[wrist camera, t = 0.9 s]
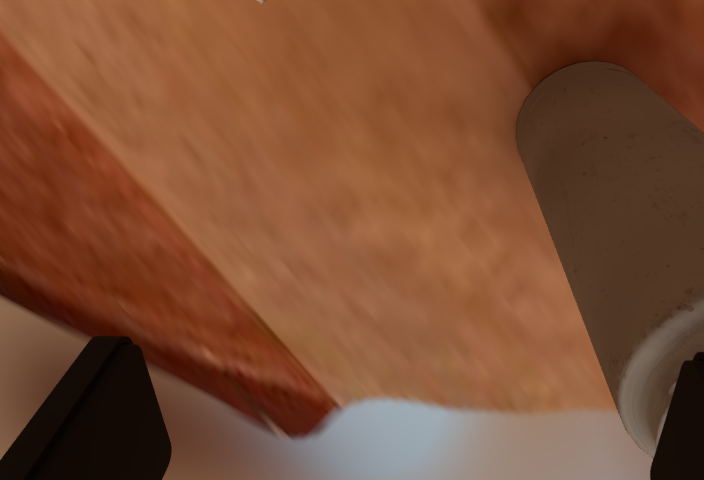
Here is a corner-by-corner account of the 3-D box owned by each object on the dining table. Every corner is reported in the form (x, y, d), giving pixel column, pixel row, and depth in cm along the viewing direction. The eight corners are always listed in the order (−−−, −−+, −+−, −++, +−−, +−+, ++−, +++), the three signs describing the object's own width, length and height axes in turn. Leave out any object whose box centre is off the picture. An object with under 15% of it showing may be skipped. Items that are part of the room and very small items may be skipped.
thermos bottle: (681, 112, 35) (1259, 595, 11) (582, 207, 39) (846, 722, 15) (582, 32, 33) (1007, 392, 9) (488, 139, 37) (613, 595, 13)
